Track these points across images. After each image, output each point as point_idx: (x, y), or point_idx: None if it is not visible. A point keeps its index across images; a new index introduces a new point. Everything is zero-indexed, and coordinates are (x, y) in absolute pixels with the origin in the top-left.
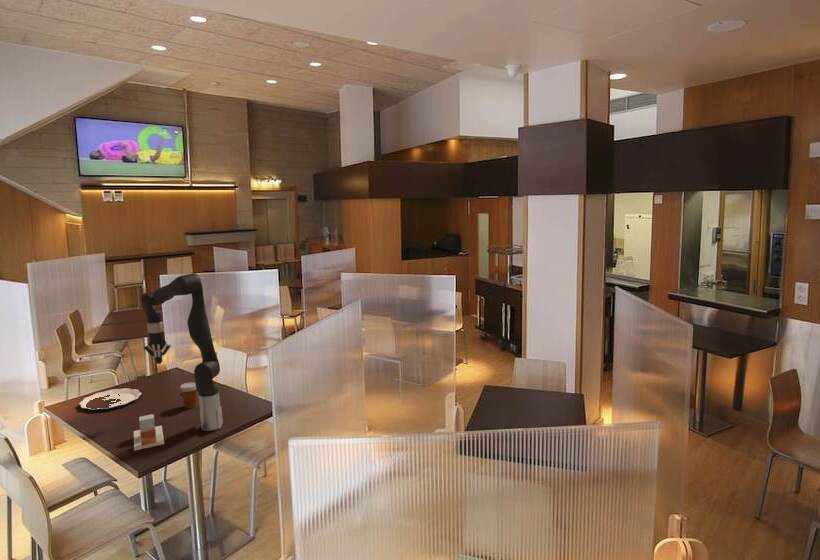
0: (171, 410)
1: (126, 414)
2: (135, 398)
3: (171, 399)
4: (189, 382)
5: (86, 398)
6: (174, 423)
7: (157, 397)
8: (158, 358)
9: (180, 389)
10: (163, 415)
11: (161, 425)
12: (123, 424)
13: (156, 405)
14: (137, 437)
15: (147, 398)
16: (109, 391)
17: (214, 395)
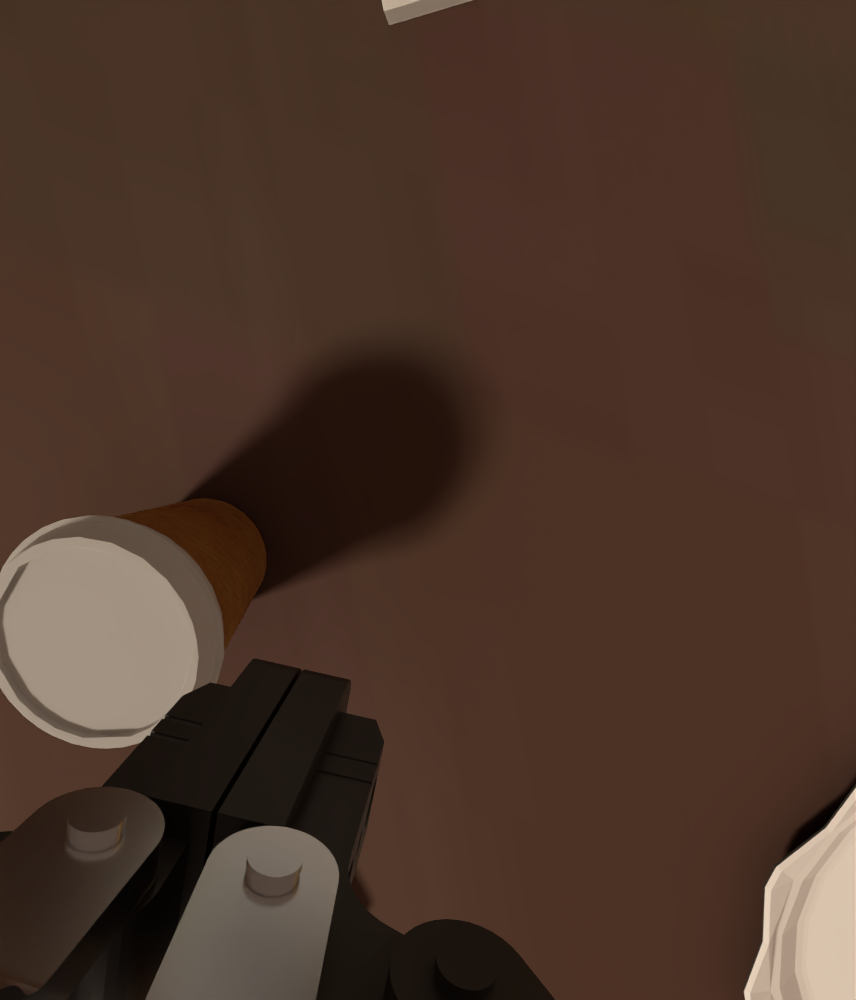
0: (381, 507)
1: (821, 550)
2: (787, 896)
3: (432, 798)
4: (108, 742)
5: None
6: (285, 130)
7: (577, 897)
8: (205, 761)
9: (202, 582)
10: (437, 396)
11: (385, 8)
12: (814, 273)
13: (553, 692)
14: None
15: (671, 906)
16: None
17: None
